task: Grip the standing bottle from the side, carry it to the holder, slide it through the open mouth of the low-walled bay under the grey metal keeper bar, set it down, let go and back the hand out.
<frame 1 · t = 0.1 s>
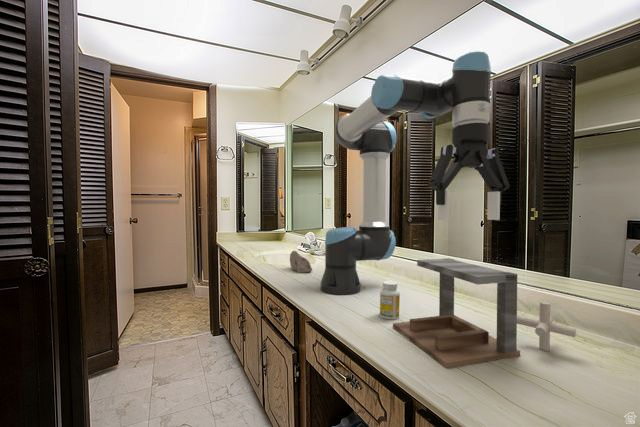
hand: (469, 220, 65), 28 cm above the worktop, tool pointing down, fingers open, 13 cm apart
pumice stone: (300, 271, 143), on the worktop
pipe connector: (544, 349, 63), on the worktop
keeper holder: (449, 339, 67), on the worktop
supplement bottle: (389, 317, 82), on the worktop
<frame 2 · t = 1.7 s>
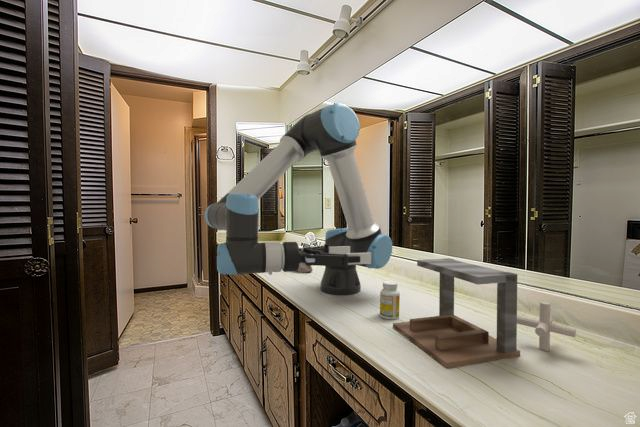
hand: (359, 254, 79), 18 cm above the worktop, tool horizontal, fingers open, 13 cm apart
nothing on the worktop moved.
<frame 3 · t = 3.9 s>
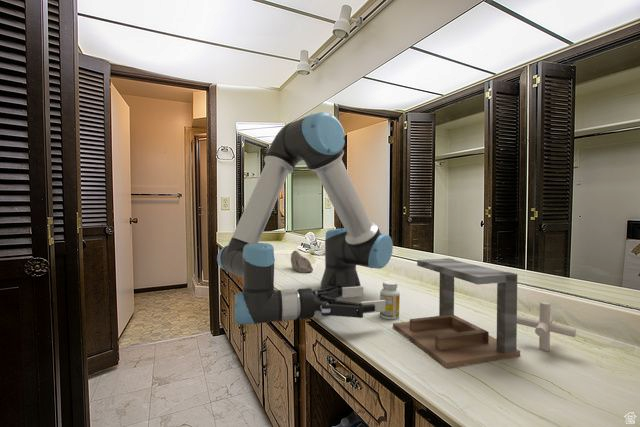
hand: (373, 297, 80), 6 cm above the worktop, tool horizontal, fingers open, 13 cm apart
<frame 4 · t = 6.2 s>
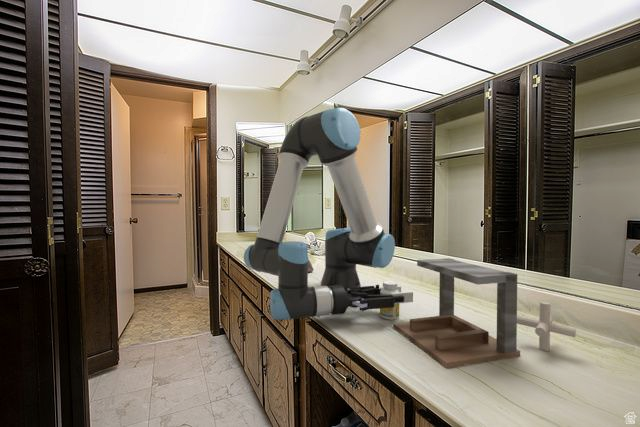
hand: (406, 293, 83), 6 cm above the worktop, tool horizontal, fingers closed on supplement bottle, 5 cm apart
supplement bottle: (389, 317, 82), on the worktop, touching gripper
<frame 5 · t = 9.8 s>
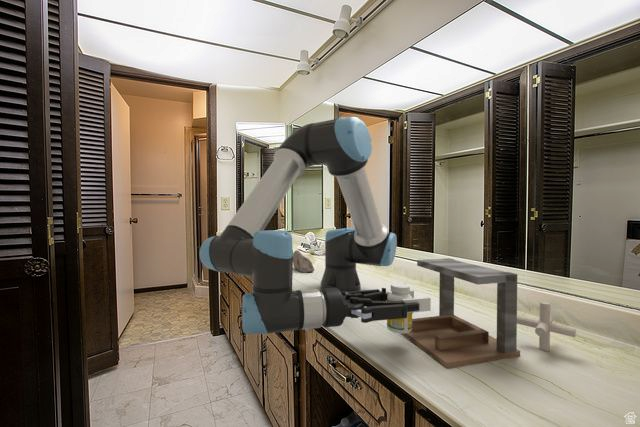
hand: (420, 299, 65), 10 cm above the worktop, tool horizontal, fingers closed on supplement bottle, 5 cm apart
supplement bottle: (399, 329, 63), point 4 cm above the worktop, touching gripper
when the fingers open (8 cm above the worktop, at t = 13.8 s): supplement bottle drops 1 cm, resting on keeper holder.
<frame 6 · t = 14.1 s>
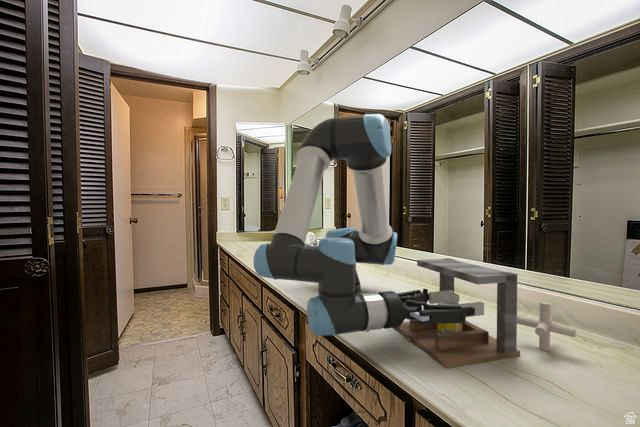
hand: (466, 301, 68), 8 cm above the worktop, tool horizontal, fingers open, 9 cm apart
supplement bottle: (449, 336, 67), point 1 cm above the worktop, touching keeper holder
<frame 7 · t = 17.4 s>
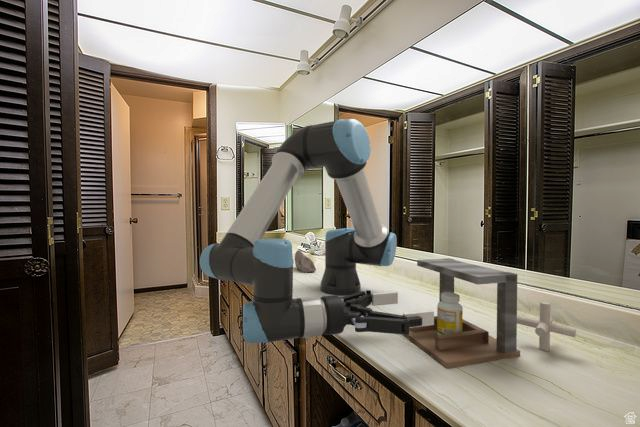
hand: (413, 306, 64), 9 cm above the worktop, tool horizontal, fingers open, 13 cm apart
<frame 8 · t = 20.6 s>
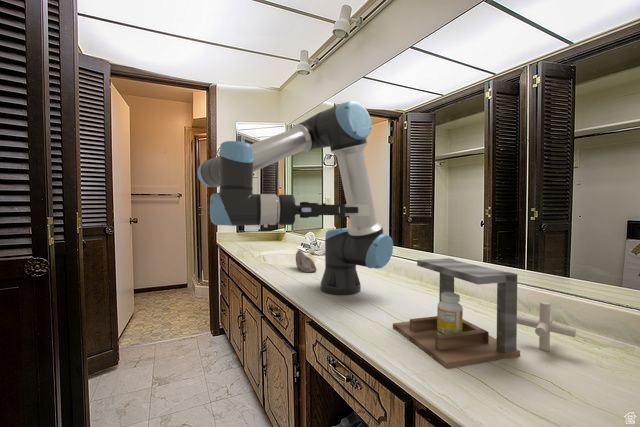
hand: (358, 210, 77), 30 cm above the worktop, tool horizontal, fingers open, 13 cm apart
at the end: supplement bottle 0.1 cm off-centre on the keeper holder, point 0.8 cm above the keeper holder's base; supplement bottle tilted 0°; the gripper is holding nothing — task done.
